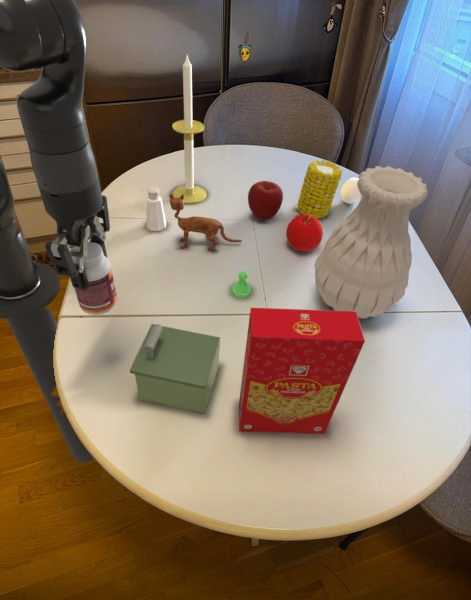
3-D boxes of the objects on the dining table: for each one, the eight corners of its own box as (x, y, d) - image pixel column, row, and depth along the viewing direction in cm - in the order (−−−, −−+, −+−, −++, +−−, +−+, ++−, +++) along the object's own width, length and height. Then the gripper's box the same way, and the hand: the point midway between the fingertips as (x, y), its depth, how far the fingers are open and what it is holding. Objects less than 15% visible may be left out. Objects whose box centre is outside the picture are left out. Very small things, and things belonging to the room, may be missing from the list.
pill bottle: (123, 307, 70) (114, 255, 62) (87, 321, 67) (73, 269, 59) (108, 285, 73) (98, 234, 66) (74, 298, 71) (58, 246, 63)
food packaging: (239, 431, 71) (251, 336, 53) (238, 404, 75) (250, 307, 57) (324, 433, 72) (364, 341, 54) (320, 406, 75) (356, 311, 58)
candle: (165, 194, 123) (156, 51, 97) (189, 182, 129) (187, 44, 103) (189, 207, 119) (186, 62, 93) (213, 194, 125) (217, 54, 98)
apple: (284, 224, 116) (289, 192, 109) (251, 227, 114) (254, 195, 107) (273, 205, 122) (278, 174, 115) (242, 208, 120) (245, 176, 113)
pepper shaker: (153, 218, 114) (150, 181, 107) (170, 224, 113) (168, 187, 105) (142, 228, 111) (137, 191, 103) (159, 234, 109) (156, 197, 102)
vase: (299, 271, 102) (325, 154, 81) (378, 270, 104) (423, 156, 83) (318, 334, 88) (356, 212, 67) (408, 331, 90) (473, 212, 69)
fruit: (281, 252, 107) (286, 219, 100) (287, 233, 113) (293, 200, 106) (316, 260, 105) (325, 227, 98) (321, 240, 112) (329, 208, 105)
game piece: (236, 283, 98) (237, 263, 93) (253, 288, 97) (255, 268, 92) (229, 294, 95) (230, 274, 90) (246, 300, 94) (249, 280, 90)
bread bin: (139, 399, 74) (134, 374, 69) (159, 353, 82) (156, 327, 76) (204, 414, 73) (205, 389, 68) (218, 366, 80) (220, 340, 75)
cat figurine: (241, 237, 110) (245, 191, 101) (242, 253, 106) (246, 206, 96) (172, 235, 109) (170, 188, 100) (170, 251, 105) (167, 203, 95)
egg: (349, 195, 129) (356, 171, 124) (363, 205, 126) (371, 181, 120) (333, 199, 127) (340, 175, 121) (347, 210, 123) (354, 186, 118)
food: (290, 211, 124) (320, 207, 127) (310, 224, 115) (341, 221, 118) (295, 158, 116) (327, 156, 119) (317, 168, 107) (350, 166, 110)
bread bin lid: (130, 373, 69) (126, 356, 66) (152, 326, 76) (149, 310, 73) (205, 389, 68) (205, 373, 64) (220, 340, 75) (220, 323, 72)
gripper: (67, 148, 59) (89, 242, 71) (8, 199, 49) (45, 300, 61) (117, 155, 59) (131, 250, 70) (67, 209, 48) (94, 309, 60)
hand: (91, 273), depth 66 cm, fingers closed on pill bottle, 6 cm apart
